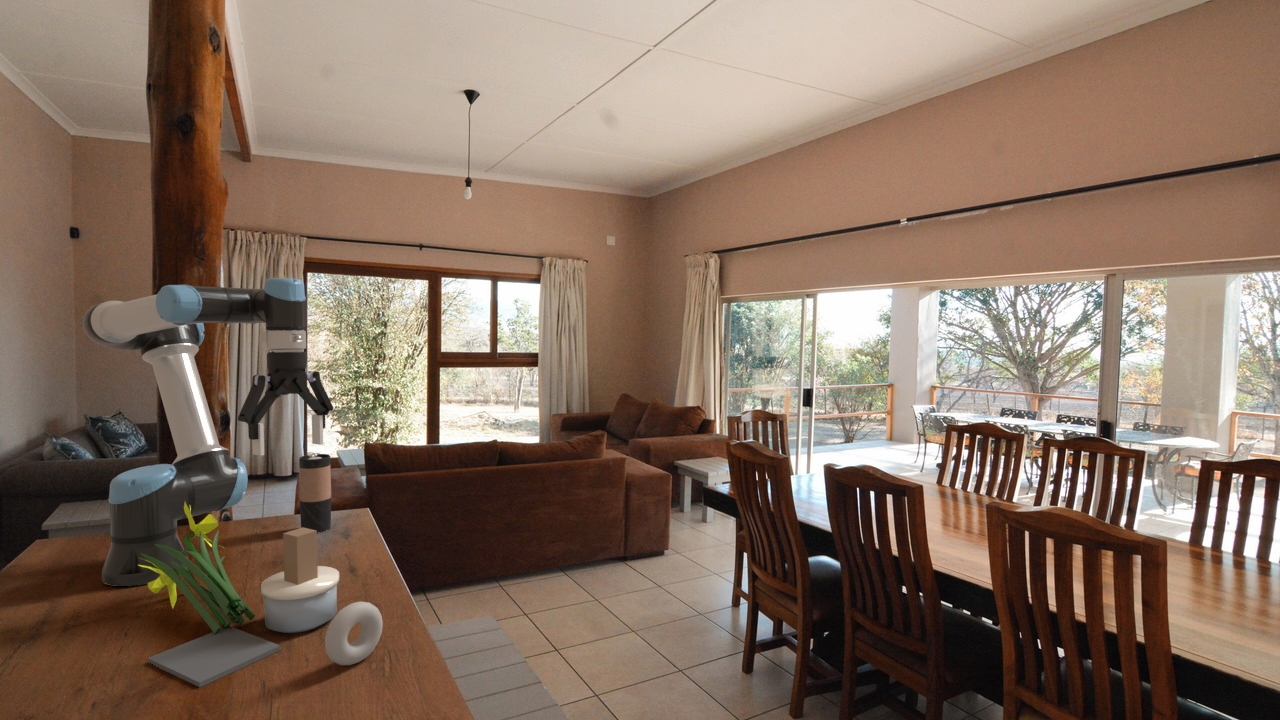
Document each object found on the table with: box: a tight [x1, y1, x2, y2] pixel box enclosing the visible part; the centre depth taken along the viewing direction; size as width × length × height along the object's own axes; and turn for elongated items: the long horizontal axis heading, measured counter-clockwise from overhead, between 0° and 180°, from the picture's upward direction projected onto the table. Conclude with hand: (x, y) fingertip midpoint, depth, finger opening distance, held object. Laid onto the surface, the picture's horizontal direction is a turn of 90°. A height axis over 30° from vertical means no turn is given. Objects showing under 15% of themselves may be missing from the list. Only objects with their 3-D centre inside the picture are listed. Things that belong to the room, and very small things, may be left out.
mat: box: [147, 625, 281, 688], centre depth 109 cm, size 15×13×1 cm
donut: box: [324, 601, 384, 666], centre depth 107 cm, size 10×4×10 cm, turn 148°
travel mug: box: [298, 453, 332, 534], centre depth 174 cm, size 8×8×20 cm
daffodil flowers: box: [139, 502, 256, 635], centre depth 126 cm, size 17×15×35 cm
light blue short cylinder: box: [263, 584, 338, 634], centre depth 121 cm, size 12×12×7 cm
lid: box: [260, 527, 340, 600], centre depth 121 cm, size 13×13×10 cm
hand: (289, 449), depth 139 cm, fingers open, 13 cm apart
